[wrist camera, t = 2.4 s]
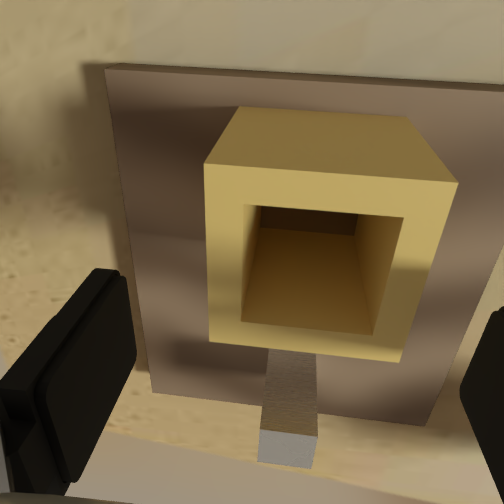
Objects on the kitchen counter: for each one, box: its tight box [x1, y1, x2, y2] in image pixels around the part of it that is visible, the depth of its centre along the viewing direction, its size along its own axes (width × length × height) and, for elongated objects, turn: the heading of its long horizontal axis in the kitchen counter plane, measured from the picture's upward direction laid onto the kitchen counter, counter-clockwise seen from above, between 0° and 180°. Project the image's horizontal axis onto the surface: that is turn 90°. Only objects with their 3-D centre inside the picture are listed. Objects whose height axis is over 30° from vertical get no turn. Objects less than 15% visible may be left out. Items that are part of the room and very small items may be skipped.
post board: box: [104, 63, 504, 469], centre depth 18 cm, size 18×16×6 cm
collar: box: [204, 106, 458, 363], centre depth 14 cm, size 6×6×6 cm
